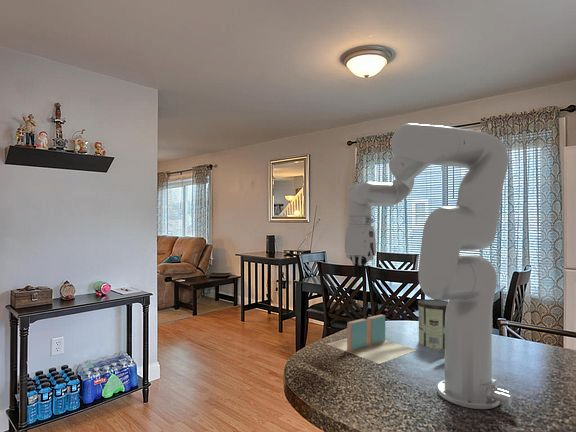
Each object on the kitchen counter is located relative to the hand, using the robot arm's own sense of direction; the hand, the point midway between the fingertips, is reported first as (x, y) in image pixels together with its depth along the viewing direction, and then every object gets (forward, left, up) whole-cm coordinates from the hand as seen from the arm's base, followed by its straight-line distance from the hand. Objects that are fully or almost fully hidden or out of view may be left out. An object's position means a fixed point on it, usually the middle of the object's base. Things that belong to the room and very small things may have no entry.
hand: (359, 277), depth 122 cm
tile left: (-7, +9, -20) cm, 23 cm away
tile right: (-7, 0, -20) cm, 21 cm away
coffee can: (-19, -14, -21) cm, 32 cm away
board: (-9, +5, -21) cm, 23 cm away
